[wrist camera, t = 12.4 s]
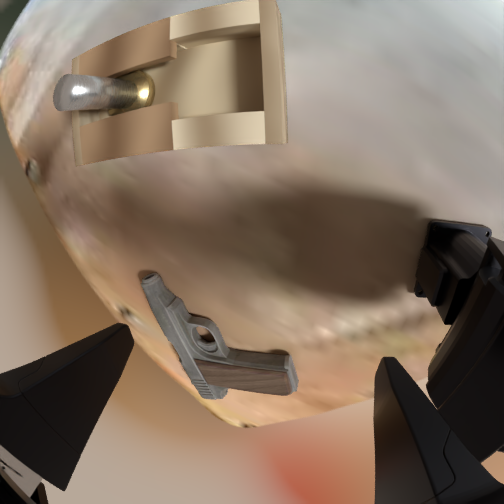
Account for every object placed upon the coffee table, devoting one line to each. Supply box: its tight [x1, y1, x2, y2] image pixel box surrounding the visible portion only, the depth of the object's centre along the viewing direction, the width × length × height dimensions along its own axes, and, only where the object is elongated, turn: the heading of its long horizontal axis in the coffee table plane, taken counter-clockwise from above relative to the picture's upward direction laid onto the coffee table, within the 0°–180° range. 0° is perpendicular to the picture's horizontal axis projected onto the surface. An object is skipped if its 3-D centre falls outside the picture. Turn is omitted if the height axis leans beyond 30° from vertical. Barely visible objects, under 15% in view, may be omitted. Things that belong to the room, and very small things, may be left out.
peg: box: [53, 70, 155, 116], centre depth 14 cm, size 4×4×8 cm
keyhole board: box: [71, 0, 288, 166], centre depth 16 cm, size 17×10×3 cm, turn 92°
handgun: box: [141, 273, 298, 400], centre depth 25 cm, size 3×16×12 cm
